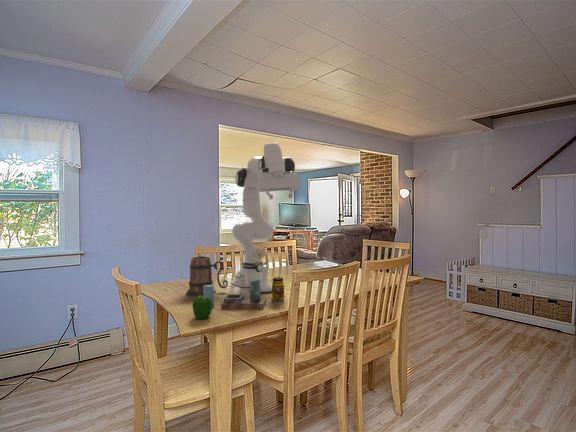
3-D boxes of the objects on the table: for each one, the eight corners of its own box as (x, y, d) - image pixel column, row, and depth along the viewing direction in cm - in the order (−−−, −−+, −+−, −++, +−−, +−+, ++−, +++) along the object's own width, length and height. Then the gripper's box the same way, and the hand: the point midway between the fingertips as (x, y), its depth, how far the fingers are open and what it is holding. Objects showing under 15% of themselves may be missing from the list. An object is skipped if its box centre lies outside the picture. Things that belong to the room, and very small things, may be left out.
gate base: (221, 308, 158) (221, 282, 158) (226, 302, 168) (226, 277, 168) (263, 309, 156) (263, 282, 156) (266, 303, 166) (266, 278, 166)
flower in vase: (275, 289, 196) (275, 246, 196) (273, 294, 185) (272, 249, 185) (254, 288, 198) (253, 246, 197) (249, 293, 186) (249, 248, 186)
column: (201, 307, 160) (201, 286, 160) (209, 304, 164) (209, 284, 164) (207, 308, 157) (207, 287, 157) (216, 306, 161) (216, 285, 161)
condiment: (280, 304, 165) (280, 280, 165) (265, 301, 169) (265, 278, 169) (287, 300, 171) (287, 277, 171) (273, 298, 175) (273, 275, 175)
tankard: (182, 297, 179) (182, 260, 179) (187, 289, 196) (187, 255, 195) (227, 295, 182) (227, 259, 182) (228, 288, 199) (228, 255, 199)
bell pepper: (204, 313, 150) (203, 291, 150) (215, 317, 145) (215, 294, 145) (188, 318, 144) (187, 295, 143) (199, 322, 138) (199, 298, 138)
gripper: (295, 174, 166) (300, 199, 161) (254, 176, 160) (258, 202, 155) (298, 168, 160) (304, 193, 155) (256, 169, 154) (260, 196, 149)
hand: (281, 198), depth 155 cm, fingers open, 8 cm apart
